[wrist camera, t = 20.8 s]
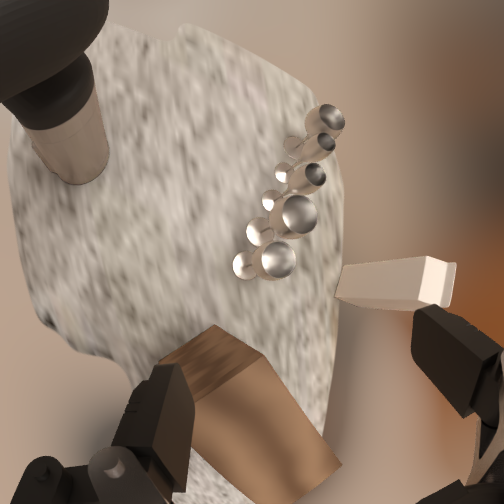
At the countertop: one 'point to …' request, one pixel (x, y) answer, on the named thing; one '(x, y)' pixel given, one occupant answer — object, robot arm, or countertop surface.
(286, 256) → the goblet set
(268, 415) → the open wooden box
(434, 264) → the milk
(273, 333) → the countertop surface
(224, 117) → the countertop surface
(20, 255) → the countertop surface
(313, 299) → the countertop surface
